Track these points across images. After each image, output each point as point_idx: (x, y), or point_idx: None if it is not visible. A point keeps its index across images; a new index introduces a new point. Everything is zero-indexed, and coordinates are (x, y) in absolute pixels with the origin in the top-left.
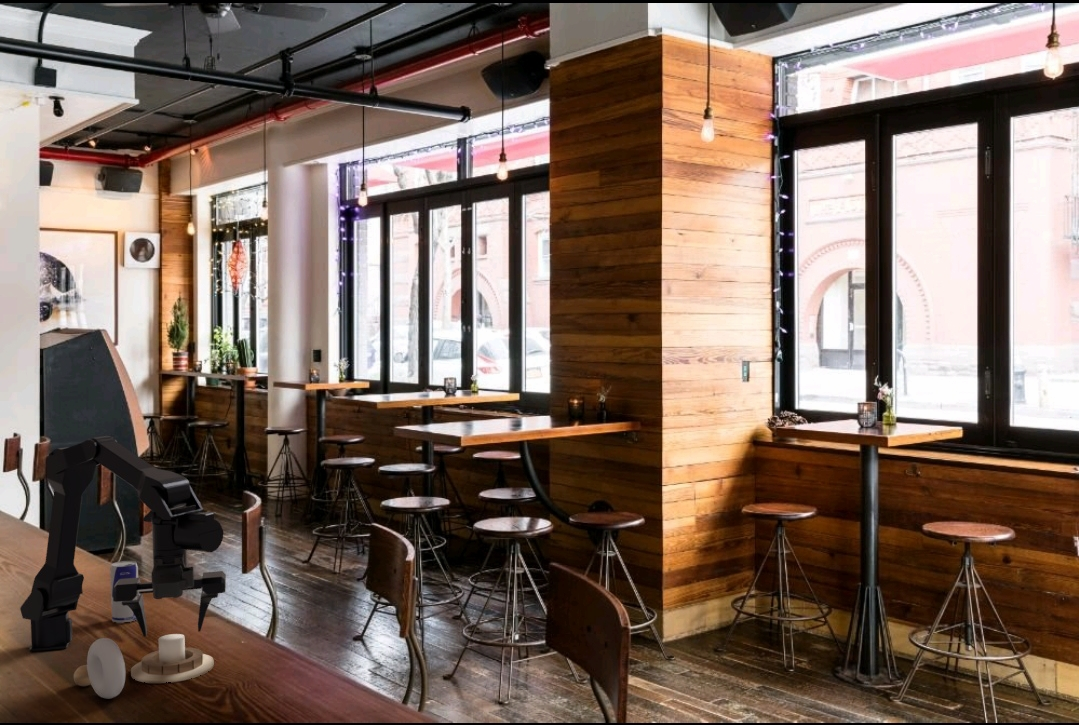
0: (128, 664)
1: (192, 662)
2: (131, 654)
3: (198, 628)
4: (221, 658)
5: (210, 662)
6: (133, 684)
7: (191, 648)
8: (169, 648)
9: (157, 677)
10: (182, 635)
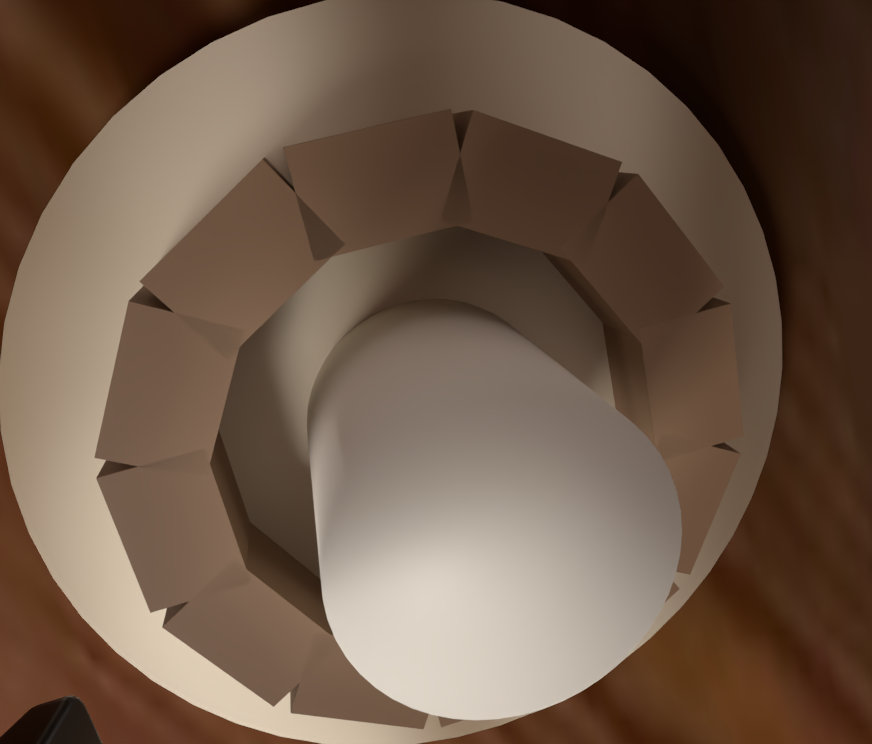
0: (820, 537)
1: (153, 303)
2: (837, 739)
3: (47, 726)
4: (52, 698)
5: (46, 492)
6: (676, 7)
7: (319, 693)
8: (464, 355)
9: (469, 37)
10: (376, 664)
